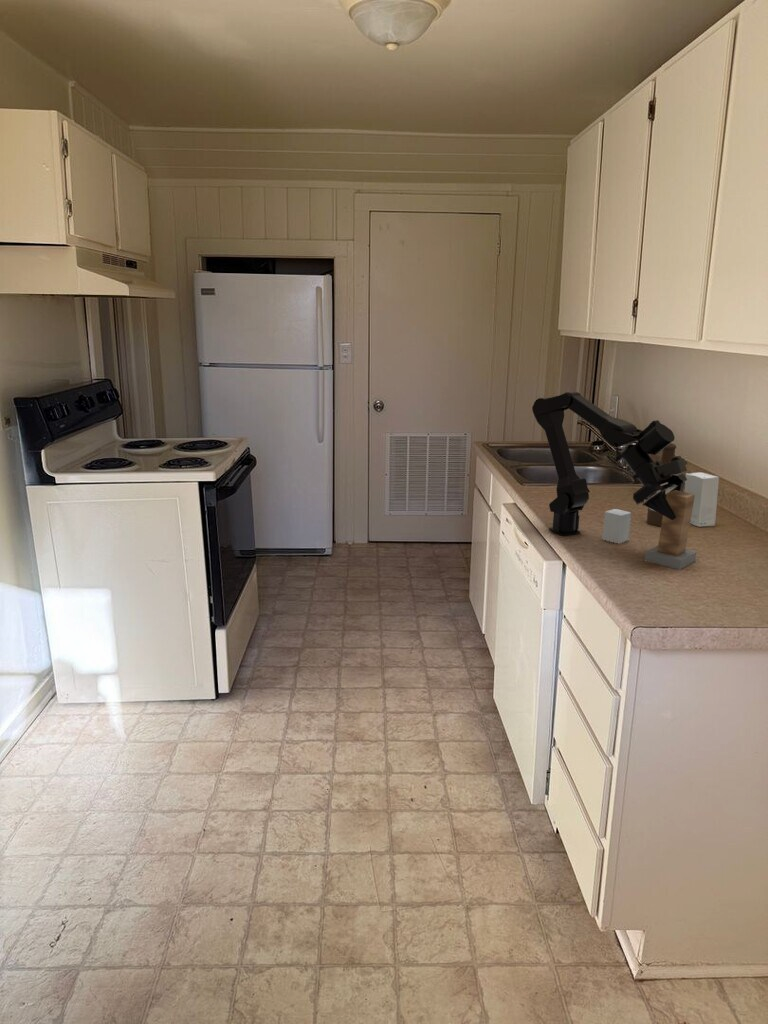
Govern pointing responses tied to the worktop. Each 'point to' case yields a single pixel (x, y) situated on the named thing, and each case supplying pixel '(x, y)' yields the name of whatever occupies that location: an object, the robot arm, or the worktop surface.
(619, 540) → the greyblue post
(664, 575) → the worktop surface
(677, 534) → the walnut post
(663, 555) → the greyblue square slab
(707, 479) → the skincare box
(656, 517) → the beer bottle
